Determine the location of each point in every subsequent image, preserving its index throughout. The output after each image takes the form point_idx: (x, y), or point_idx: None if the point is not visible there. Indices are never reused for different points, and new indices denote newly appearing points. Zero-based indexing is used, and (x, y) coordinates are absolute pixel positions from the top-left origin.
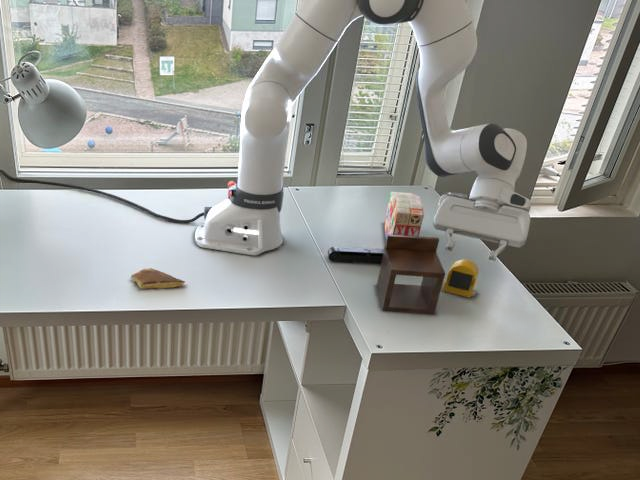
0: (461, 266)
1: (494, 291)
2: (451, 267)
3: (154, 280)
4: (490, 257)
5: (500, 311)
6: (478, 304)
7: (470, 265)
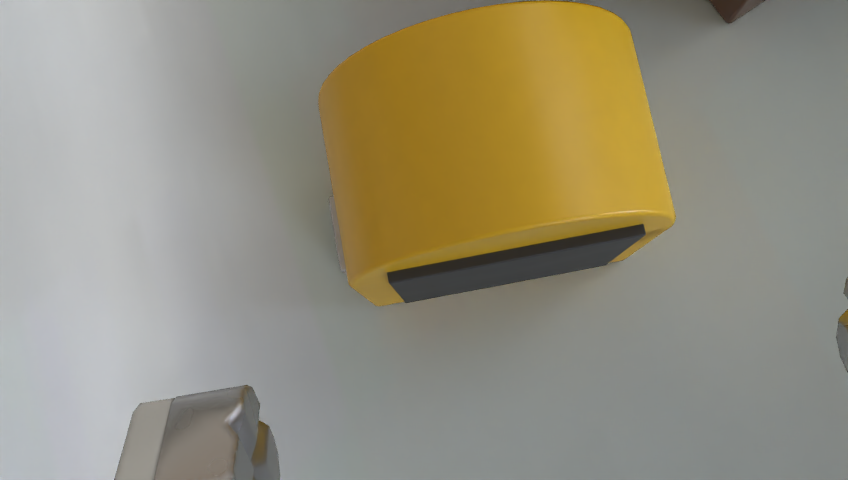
0: (514, 3)
1: None
2: (647, 107)
3: None
4: (228, 390)
5: (66, 116)
6: (253, 103)
7: (427, 104)
